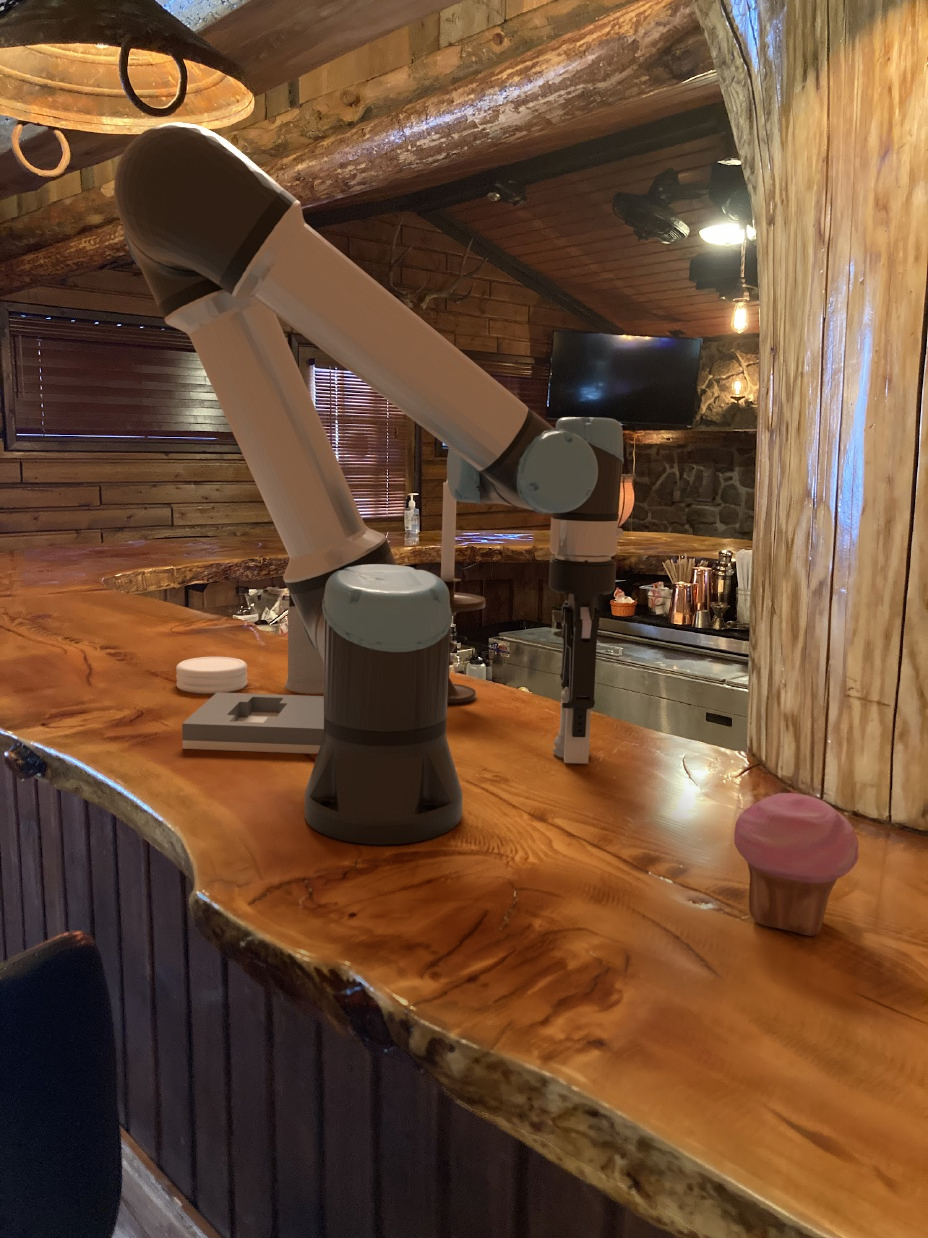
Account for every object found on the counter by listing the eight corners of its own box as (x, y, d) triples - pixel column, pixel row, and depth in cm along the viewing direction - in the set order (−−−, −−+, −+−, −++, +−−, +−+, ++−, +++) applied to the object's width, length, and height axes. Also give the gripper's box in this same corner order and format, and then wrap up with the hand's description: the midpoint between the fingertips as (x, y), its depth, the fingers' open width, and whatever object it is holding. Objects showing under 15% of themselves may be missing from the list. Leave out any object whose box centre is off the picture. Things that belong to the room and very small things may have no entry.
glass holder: (272, 687, 134) (271, 585, 132) (330, 669, 147) (330, 575, 144) (321, 696, 130) (321, 591, 128) (376, 677, 143) (377, 581, 140)
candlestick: (428, 684, 139) (434, 448, 133) (494, 694, 135) (503, 450, 129) (392, 700, 130) (396, 447, 124) (461, 711, 125) (469, 449, 119)
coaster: (256, 680, 139) (256, 657, 139) (233, 697, 129) (233, 672, 129) (192, 676, 140) (192, 654, 140) (165, 693, 130) (164, 669, 130)
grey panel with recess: (408, 757, 106) (409, 689, 104) (182, 748, 106) (181, 681, 105) (416, 722, 120) (418, 662, 118) (217, 714, 120) (216, 654, 119)
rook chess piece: (551, 748, 111) (554, 683, 109) (588, 750, 111) (592, 685, 109) (553, 760, 106) (557, 693, 105) (592, 762, 106) (596, 695, 105)
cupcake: (719, 933, 69) (730, 805, 67) (735, 885, 77) (745, 770, 75) (847, 962, 65) (863, 829, 63) (851, 909, 73) (864, 789, 71)
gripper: (629, 568, 95) (616, 782, 99) (605, 549, 114) (595, 730, 118) (556, 566, 95) (546, 779, 99) (544, 547, 114) (536, 728, 118)
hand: (573, 752), depth 108 cm, fingers open, 6 cm apart
